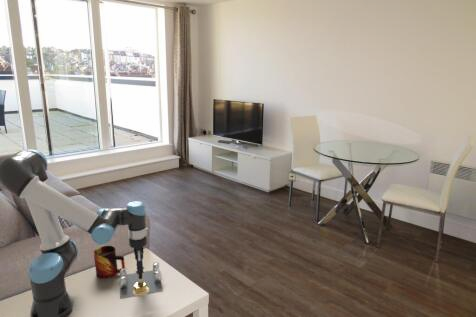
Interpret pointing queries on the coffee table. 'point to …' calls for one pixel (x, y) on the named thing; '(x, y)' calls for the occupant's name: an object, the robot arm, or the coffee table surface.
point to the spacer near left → (123, 282)
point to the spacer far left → (123, 272)
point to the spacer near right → (157, 276)
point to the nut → (139, 287)
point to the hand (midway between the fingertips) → (140, 283)
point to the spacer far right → (155, 266)
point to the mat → (148, 280)
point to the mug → (107, 262)
